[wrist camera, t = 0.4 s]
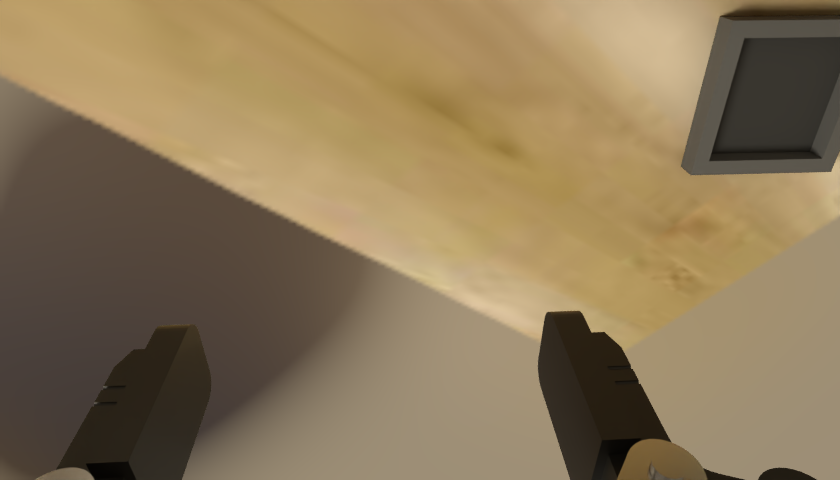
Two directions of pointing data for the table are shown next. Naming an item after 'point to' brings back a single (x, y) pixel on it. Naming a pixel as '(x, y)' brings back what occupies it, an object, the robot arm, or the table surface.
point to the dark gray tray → (768, 98)
